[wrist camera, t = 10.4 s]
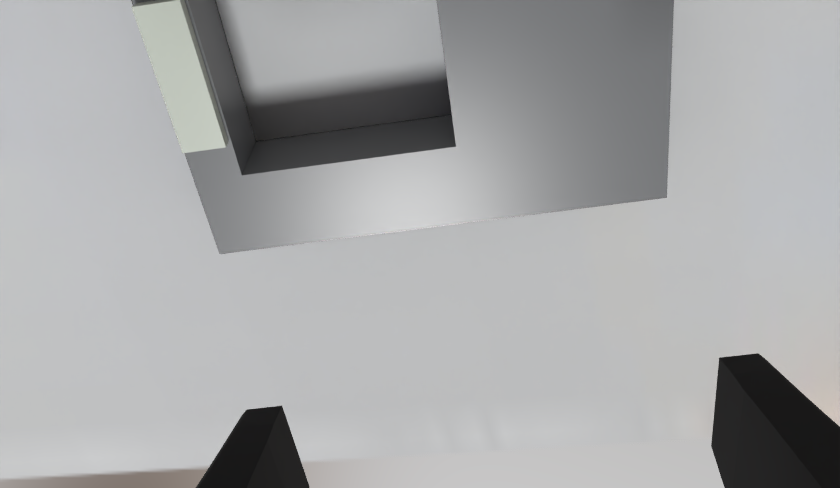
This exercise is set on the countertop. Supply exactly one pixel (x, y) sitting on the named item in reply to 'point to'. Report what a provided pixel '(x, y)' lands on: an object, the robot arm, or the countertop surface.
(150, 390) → the countertop surface
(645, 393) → the countertop surface
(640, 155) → the dock
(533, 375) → the countertop surface
